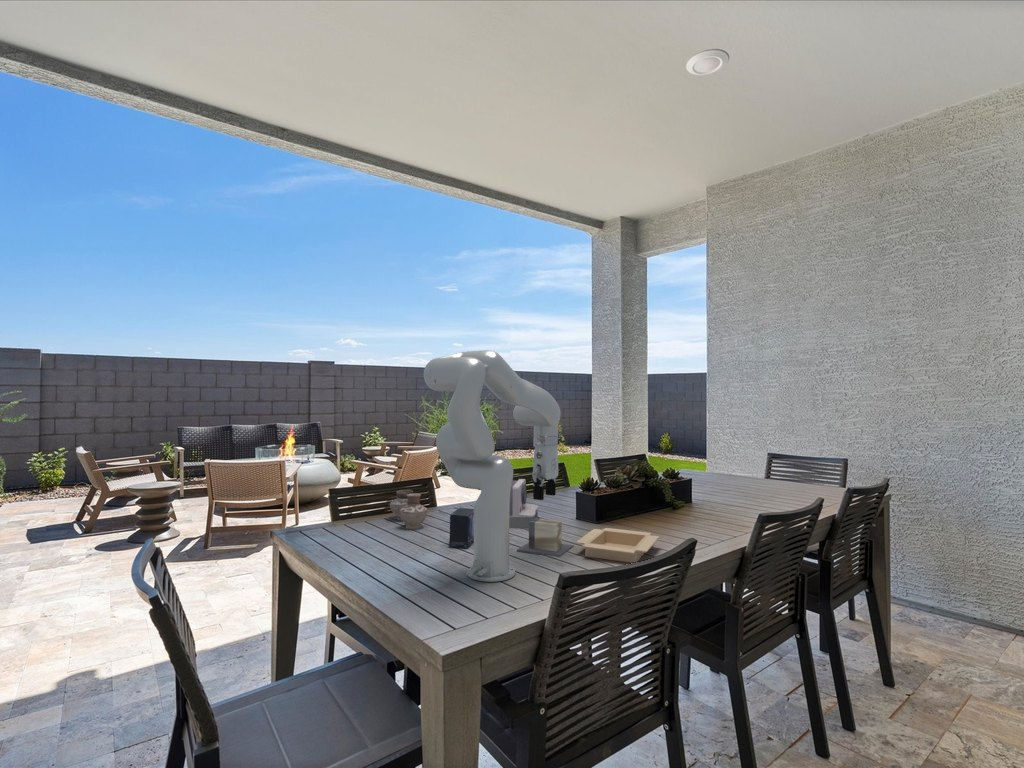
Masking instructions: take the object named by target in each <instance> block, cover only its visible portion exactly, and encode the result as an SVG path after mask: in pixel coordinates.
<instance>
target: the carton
mask: <svg viewBox="0 0 1024 768" xmlns="http://www.w3.org/2000/svg"><path fill="white" fill-rule="evenodd" d="M659 538H660V536H658V535H652V532H646V531H637V530H631V529H630V530H628V529H621V528H620V529H619V528H612V527H609V528H608V527H605V528H603V529H599V528H593V529H592V530H590V531H589V532H587V533H586V534H585V535H583V536H582V537H580V538H579V539H577V541H575V544H579V545H582V546H581V548H584V549H585V550H584V555H585V557H590V558H596V559H605V560H610V561H616V562H617V561H618V562H625V563H632V562H637V561H638V562H639V560H640V559H641V558H642V557H643V555H644V554H645V553H648V551H649V550H650V549H651V548H652V547H653V545H654V544H655V543H656V541H658V539H659ZM641 556H642V557H641ZM638 562H637V563H638ZM632 564H633V563H632Z"/></svg>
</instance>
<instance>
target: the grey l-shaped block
mask: <svg viewBox="0 0 1024 768" xmlns="http://www.w3.org/2000/svg"><path fill="white" fill-rule="evenodd" d="M526 483H527V482H526V479H525V478H518V480H514V479H513V480H512V485H511V491H510V503H509V529H528V530H529V521H531V520H533V519H535V518H536V519H539V517H538V516H539V513H538V511H539V505H537V504H532V503H527V498H528V496H527V495H528V488H527V484H526Z"/></svg>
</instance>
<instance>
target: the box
mask: <svg viewBox="0 0 1024 768" xmlns="http://www.w3.org/2000/svg"><path fill="white" fill-rule="evenodd" d="M562 522H563V521H562V520H553V519H551V520H550V519H543V518H537V519H536V518H535V519H533V520H531V521H529V529H528V543H529V548H534V549H541V550H549V551H557V550H559V549H560V548H562V544H563V538H562V537H563V536H562V535H563V523H562Z"/></svg>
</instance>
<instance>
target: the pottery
mask: <svg viewBox="0 0 1024 768" xmlns="http://www.w3.org/2000/svg"><path fill="white" fill-rule="evenodd" d="M421 496H422V494H420V493H414V491H413V490H411V489H403V490H402V489H401V490H397V491H396V498H394V499H393V500H392V501H390V502H389V507H390V510H391V512H392V513H393V515H395V516H396V520H397V521H398V522H399V521H400V522H404V524H405V529H406V530H420V529H421V528H422V523H423V522H424V521H425V520H426V517H427V514H428V508H427V507H425V506H424V505H422V504H421V503H420V500H421Z"/></svg>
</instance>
